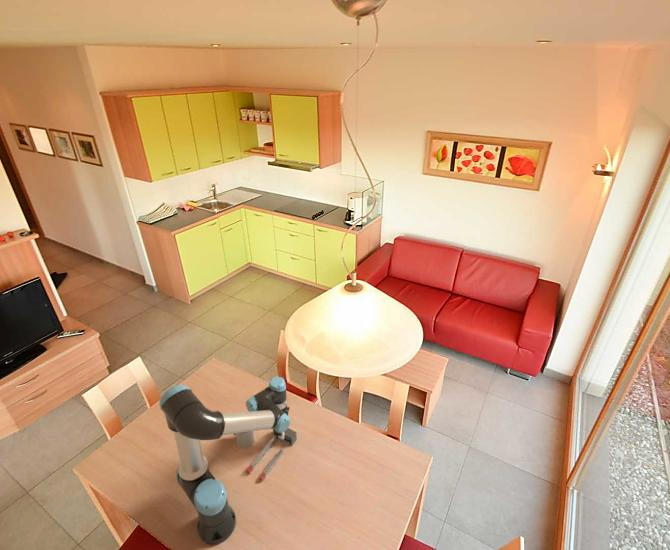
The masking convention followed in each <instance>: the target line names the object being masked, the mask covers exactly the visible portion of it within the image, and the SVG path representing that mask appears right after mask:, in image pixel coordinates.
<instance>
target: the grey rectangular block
mask: <svg viewBox="0 0 670 550" xmlns="http://www.w3.org/2000/svg"><path fill="white" fill-rule="evenodd" d="M272 432H273V433H272V434H273V436H274V435H275V434H277V433H276V432H274V430H273V429H272ZM284 435H285V438H286V439H288V440H290V441H291V444H290V446H293V445H294V444H295V442H297V438H298V437H297V432H296V431H294V430H293V429H291V428H289V427H288V429H287V430H286V431H284Z"/></svg>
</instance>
